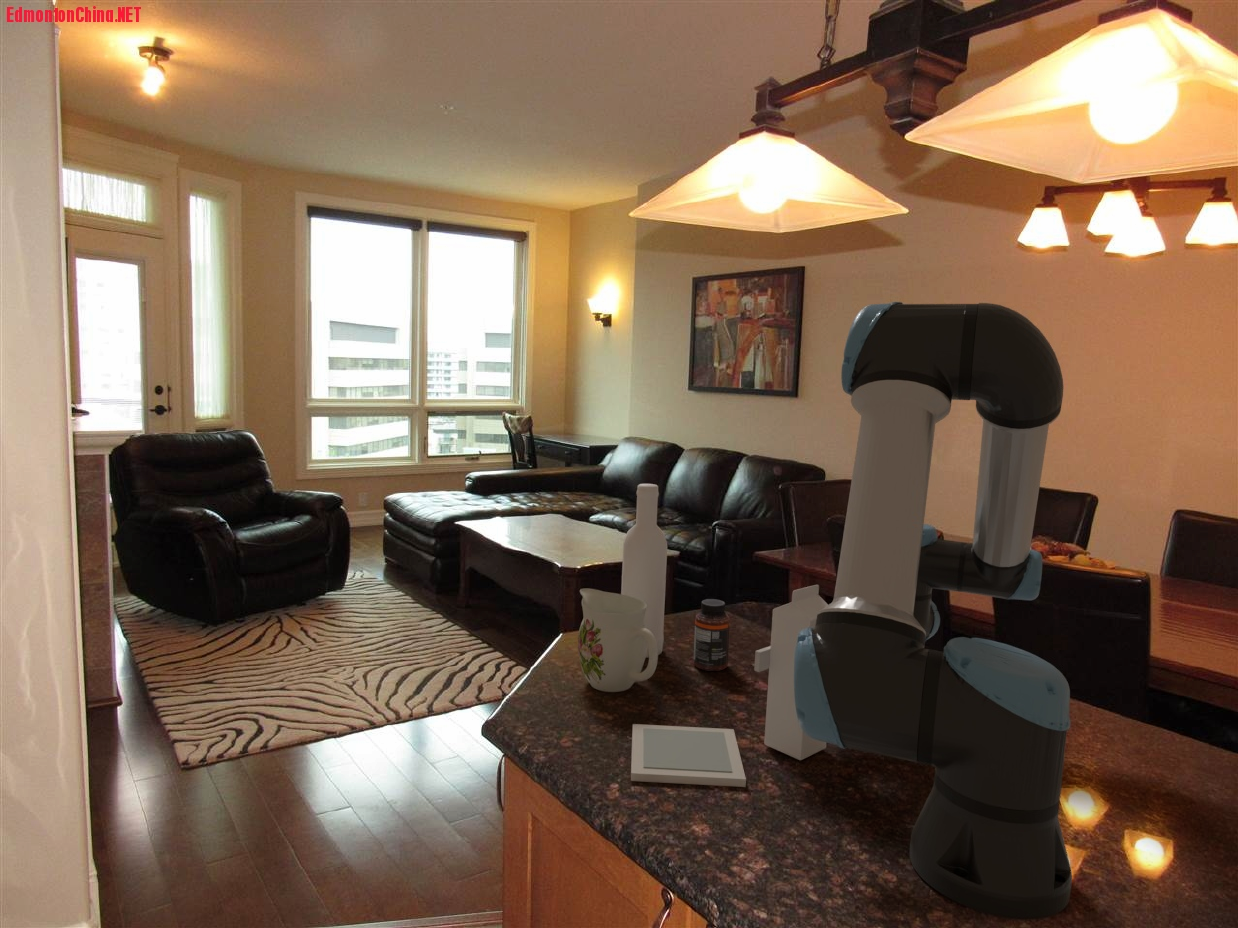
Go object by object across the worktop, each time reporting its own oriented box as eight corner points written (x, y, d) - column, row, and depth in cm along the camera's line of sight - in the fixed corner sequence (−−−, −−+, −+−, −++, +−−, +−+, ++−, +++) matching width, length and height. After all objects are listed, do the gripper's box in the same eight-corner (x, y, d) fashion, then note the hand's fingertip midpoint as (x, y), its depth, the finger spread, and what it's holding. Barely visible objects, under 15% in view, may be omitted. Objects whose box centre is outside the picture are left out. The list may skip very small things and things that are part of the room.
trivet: (745, 786, 100) (746, 777, 100) (630, 780, 101) (631, 771, 101) (733, 735, 114) (733, 728, 114) (632, 730, 115) (632, 722, 115)
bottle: (634, 640, 153) (641, 480, 149) (671, 649, 148) (679, 485, 145) (609, 651, 146) (616, 484, 143) (647, 661, 142) (654, 489, 138)
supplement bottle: (711, 657, 145) (715, 595, 144) (735, 668, 140) (738, 603, 139) (685, 663, 142) (689, 599, 140) (708, 674, 137) (712, 608, 136)
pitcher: (626, 713, 120) (630, 622, 119) (553, 675, 134) (555, 593, 132) (679, 696, 127) (683, 610, 126) (605, 662, 141) (608, 583, 139)
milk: (826, 748, 111) (839, 589, 108) (800, 761, 107) (813, 596, 104) (788, 732, 115) (800, 579, 113) (762, 744, 111) (774, 585, 109)
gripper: (929, 678, 116) (840, 721, 100) (814, 642, 129) (719, 675, 113) (934, 626, 115) (844, 661, 99) (817, 595, 128) (722, 622, 113)
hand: (778, 668), depth 106 cm, fingers closed on milk, 6 cm apart
